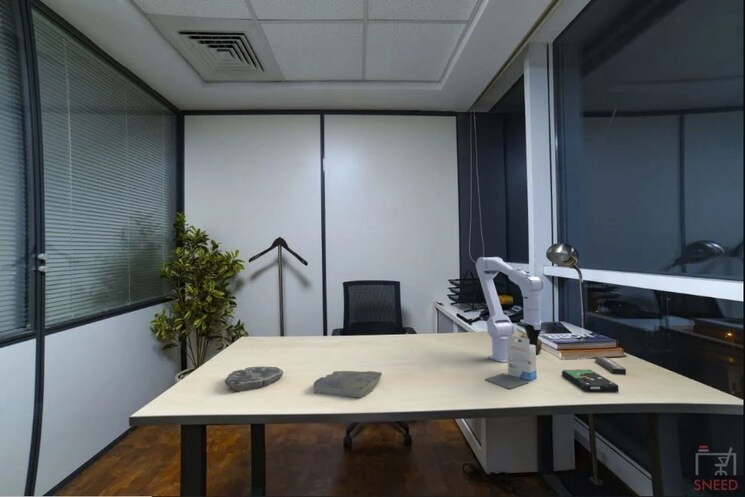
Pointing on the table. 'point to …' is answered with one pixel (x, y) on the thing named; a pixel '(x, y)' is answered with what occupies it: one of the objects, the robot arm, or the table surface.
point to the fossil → (347, 383)
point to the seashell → (538, 346)
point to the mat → (506, 381)
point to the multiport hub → (610, 365)
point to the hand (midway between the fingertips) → (532, 345)
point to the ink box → (521, 358)
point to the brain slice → (253, 378)
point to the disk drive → (590, 381)
